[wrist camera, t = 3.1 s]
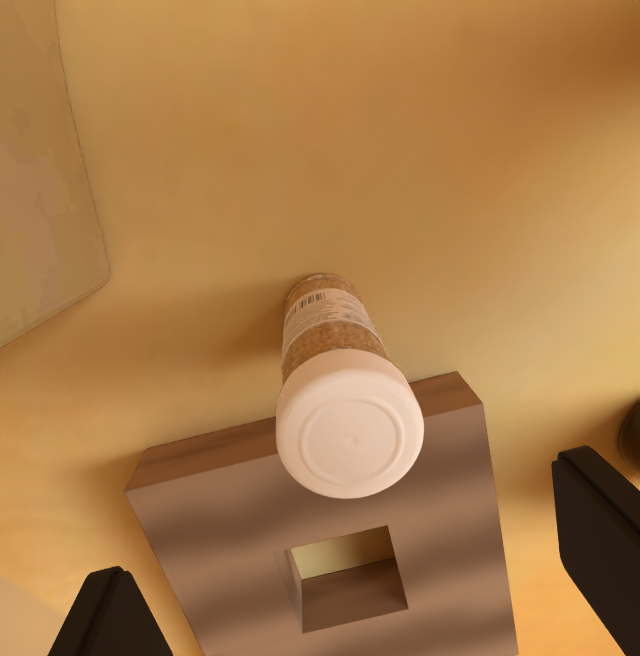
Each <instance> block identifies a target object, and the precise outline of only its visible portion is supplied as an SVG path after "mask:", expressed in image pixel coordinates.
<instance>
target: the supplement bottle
mask: <svg viewBox="0 0 640 656" xmlns="http://www.w3.org/2000/svg"><path fill="white" fill-rule="evenodd" d="M619 446H620V452H621V455H622V458H623V460H624V461H625V463H626V464H627V466H628V467H629V468H630V469H631V470H632V471H633V472H634V473H635V474H636V475H638V476H639V477H640V404H639V405H638V406H636V407H635V408H634V410H633V411H632V412H631V413H630V414H629V416H628V417H627V419H626V420H625V422H624V424H623V427H622V429H621V433H620V439H619Z"/></svg>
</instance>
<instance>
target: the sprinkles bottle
mask: <svg viewBox="0 0 640 656" xmlns="http://www.w3.org/2000/svg"><path fill="white" fill-rule="evenodd" d="M284 318H285V322H284V332H283V347H282V365H281V369H282V373H283V387H282V390H281V392H280V395H279V398H278V403H277V409H276V444H277V450H278V453H279V456H280V458H281V461H282V463H283V465H284V466H285V468H286V469H287V471H288V472H289V473H290V475H291V476H292V477H293V478H294V479H295V480H296V481H297V482H299V483H300V484H301V485H303V486H304V487H305V488H307V489H309V490H311V491H313V492H315V493H318V494H321V495H324V496H327V497H333V498H342V499H350V498H361V497H366V496H369V495H372V494H375V493H378V492H380V491H382V490H384V489H386V488H388V487H390V486H391V485H393V484H394V483H396V482H397V481H398V480H400V479H401V478H402V477H403V476H404V475H405V474H406V473H407V472H408V471H409V469H410V468H411V467H412V465H413V464H414V462H415V460H416V459H417V457H418V455H419V452H420V450H421V446H422V443H423V436H424V422H423V416H422V413H421V409H420V407H419V404H418V402H417V400H416V398H415V396H414V393H413V392H412V390H411V388H410V386H409V384H408V382H407V380H406V379H405V377H404V376H403V374H402V373H401V372H400V371H399V370H398V369H397V368H396V367H395V366H394V365H393V364H391V361H390V359H389V357H388V354H387V351H386V349H385V347H384V345H383V343H382V341H381V339H380V337H379V335H378V333H377V331H376V329H375V328H374V326H373V324H372V322H371V320H370V318H369V316H368V314H367V311H366V310H365V308H364V306H363V305H362V301H361V299H360V297H359V294H358V292H357V291H356V289H355V288H354V286H353V285H351V284H350V283H349V282H348V281H347V280H346V279H344V278H341V277H339V276H337V275H332V274H315V275H312V276H310V277H307V278H305V279H304V280H302V281H301V282H299V283H297V284H296V285H295V286H294V288H293V289H292V290H291V292H290V293H289V295H288V297H287V300H286V304H285V306H284Z"/></svg>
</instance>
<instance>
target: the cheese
mask: <svg viewBox="0 0 640 656" xmlns="http://www.w3.org/2000/svg"><path fill="white" fill-rule="evenodd" d="M109 277H110V268H109V263H108V259H107V255H106V250H105V246H104V242H103V238H102V234H101V230H100V227H99V223H98V219H97V215H96V211H95V207H94V203H93V199H92V195H91V191H90V187H89V183H88V179H87V175H86V170H85V166H84V162H83V158H82V154H81V150H80V146H79V141H78V137H77V133H76V129H75V124H74V120H73V115H72V111H71V106H70V101H69V96H68V92H67V87H66V82H65V76H64V71H63V65H62V59H61V53H60V46H59V39H58V32H57V23H56V14H55V4H54V0H0V348H2V347H4V346H5V345H7V344H9V343H10V342H12V341H13V340H15V339H17V338H18V337H20V336H22V335H23V334H25V333H26V332H28V331H30V330H31V329H33V328H35V327H36V326H38V325H40V324H41V323H43V322H44V321H46V320H48V319H49V318H51V317H53V316H54V315H56V314H58V313H59V312H61V311H63V310H64V309H66V308H68V307H69V306H71V305H73V304H74V303H76V302H78V301H79V300H81V299H83V298H84V297H86V296H87V295H89V294H91V293H92V292H94V291H95V290H97V289H98V288H100V287H102V286H103V285H104V284H106V283H107V282H108V280H109Z"/></svg>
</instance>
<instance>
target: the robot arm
mask: <svg viewBox="0 0 640 656" xmlns="http://www.w3.org/2000/svg"><path fill="white" fill-rule="evenodd" d="M552 477H553V488H554V498H555V509H556V520H557V531H558V541H559V552H560V558H561V561H562V563H563V566H564V568H565V570H566V572H567V573H568V575H569V576H570V577H571V579H572V580H573V582H574V583H575V585H576V586H577V587H578V589H579V590H580V592H581V593H582V594H583V596H584V597H585V599H586V600H587V601H588V603H589V604H590V606H591V607H592V609H593V610H594V611H595V613H596V614H597V616H598V617H599V618H600V620H601V621H602V623H603V624H604V625H605V627H606V628H607V630H608V631H609V633H610V634H611V635H612V637H613V638H614V640H615V641H616V642H617V644H618V645H619V647H620V648H621V649H622V651H623V652H624V654H625V655H626V656H640V491H639V490H638V489H637V488H636V487H635V486H634V485H633V484H632V483H630V482H629V481H628V480H627V479H626V478H625V477H624V476H623V475H621V474H620V473H619V472H618V471H617V470H616V469H615V468H614V467H612V466H611V465H610V464H609V463H608V462H607V461H606V460H605V459H603V458H602V457H601V456H600V455H599V454H598V453H597V452H596V451H594V450H593V449H592V448H591V447H589V446H586V445H585V446H581V447H577V448H573V449H569V450H565V451H562V452H559V454H558V460H556V461H553V462H552ZM48 656H173V654H172V651H171V649H170V647H169V645H168V644H167V642H166V640H165V638H164V636H163V634H162V632H161V630H160V628H159V626H158V624H157V622H156V620H155V618H154V617H153V615H152V613H151V611H150V609H149V607H148V605H147V603H146V601H145V599H144V597H143V595H142V593H141V591H140V590H139V588H138V586H137V584H136V582H135V580H134V578H133V576H132V574H131V573H130V572H129V571H124V570H123V569H122V568H121V567H119V566H115V567H111V568H107V569H103V570H99V571H95V572H92V573H90V574H89V575H88V576H87V578H86V579H85V581H84V583H83V585H82V587H81V589H80V591H79V593H78V595H77V597H76V599H75V601H74V603H73V605H72V607H71V609H70V611H69V613H68V615H67V617H66V619H65V621H64V624H63V626H62V627H61V629H60V632H59V634H58V636H57V638H56V640H55V642H54V644H53V646H52V648H51V650H50V652H49V654H48Z"/></svg>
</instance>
